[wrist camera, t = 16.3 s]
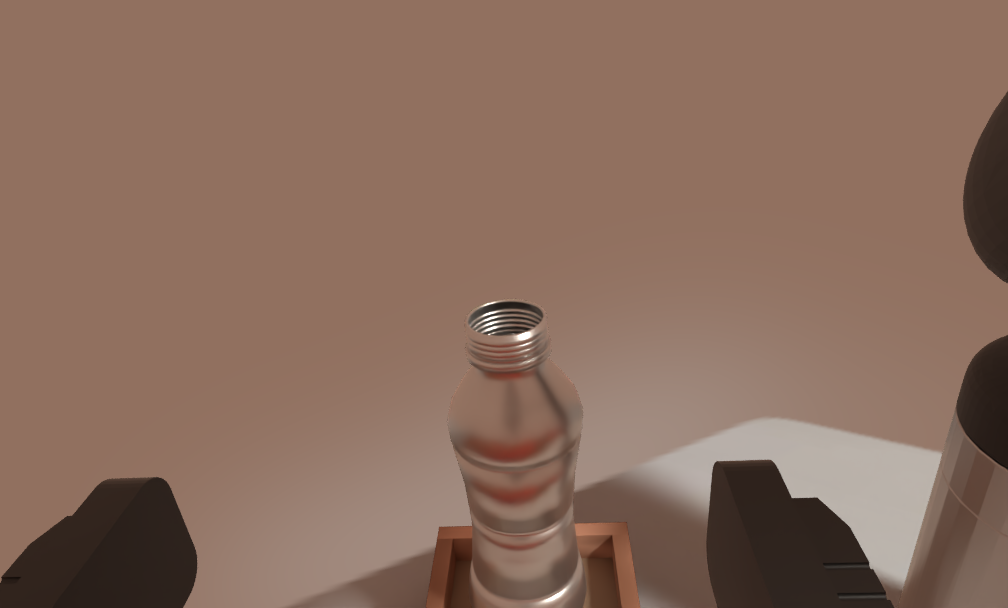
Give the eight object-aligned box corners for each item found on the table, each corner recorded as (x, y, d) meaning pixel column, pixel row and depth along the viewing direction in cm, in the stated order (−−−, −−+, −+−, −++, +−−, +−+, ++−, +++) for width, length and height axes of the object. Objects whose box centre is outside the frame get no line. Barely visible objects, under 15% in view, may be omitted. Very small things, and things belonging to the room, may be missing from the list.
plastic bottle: (463, 586, 41) (420, 300, 32) (567, 559, 42) (554, 275, 33) (486, 683, 35) (441, 369, 26) (605, 649, 37) (603, 337, 27)
